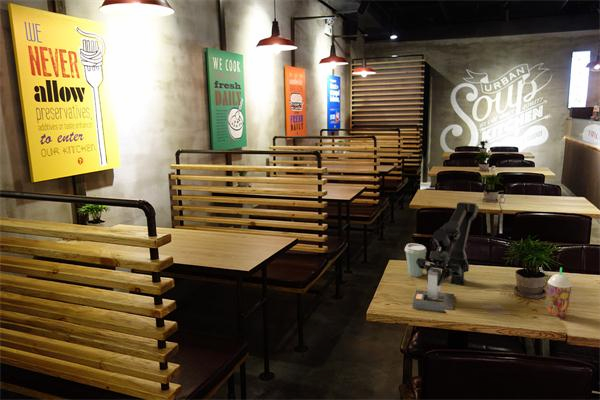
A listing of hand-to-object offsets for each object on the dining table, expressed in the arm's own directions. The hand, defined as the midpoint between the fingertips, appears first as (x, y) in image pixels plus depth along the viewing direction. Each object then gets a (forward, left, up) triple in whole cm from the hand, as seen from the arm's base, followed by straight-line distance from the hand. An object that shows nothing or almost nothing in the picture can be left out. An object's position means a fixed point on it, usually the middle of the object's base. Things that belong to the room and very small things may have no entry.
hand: (433, 284), depth 198 cm
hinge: (-42, +45, -10) cm, 62 cm away
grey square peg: (-1, 0, -6) cm, 6 cm away
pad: (+1, +24, -9) cm, 26 cm away
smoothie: (-3, +47, -9) cm, 48 cm away
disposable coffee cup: (-33, -11, -9) cm, 36 cm away
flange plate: (-1, 0, -9) cm, 9 cm away
